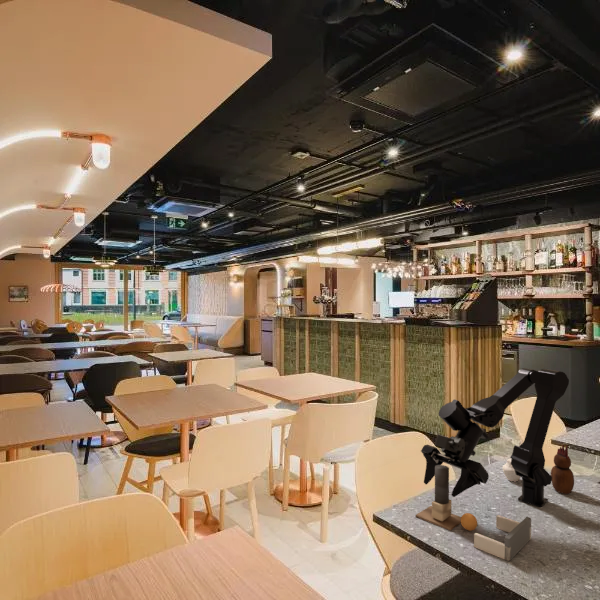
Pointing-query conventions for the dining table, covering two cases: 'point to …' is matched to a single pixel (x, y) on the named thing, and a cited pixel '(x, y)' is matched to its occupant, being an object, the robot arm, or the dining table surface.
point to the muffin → (510, 471)
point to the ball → (469, 521)
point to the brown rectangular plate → (447, 523)
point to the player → (441, 494)
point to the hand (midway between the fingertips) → (438, 489)
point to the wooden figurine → (562, 472)
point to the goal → (506, 538)
